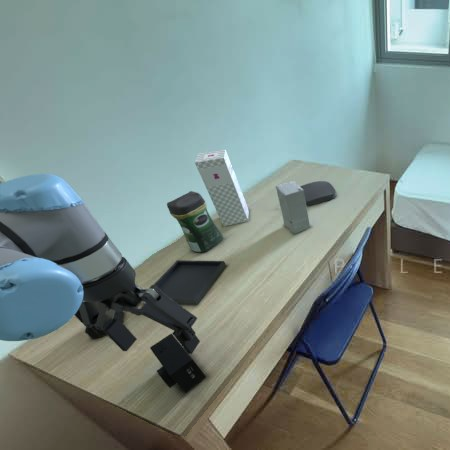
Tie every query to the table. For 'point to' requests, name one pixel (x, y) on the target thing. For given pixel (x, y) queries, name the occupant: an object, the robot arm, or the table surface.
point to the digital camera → (176, 364)
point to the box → (222, 186)
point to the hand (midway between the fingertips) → (162, 346)
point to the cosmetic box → (293, 206)
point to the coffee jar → (195, 221)
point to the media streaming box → (318, 192)
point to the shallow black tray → (189, 280)
